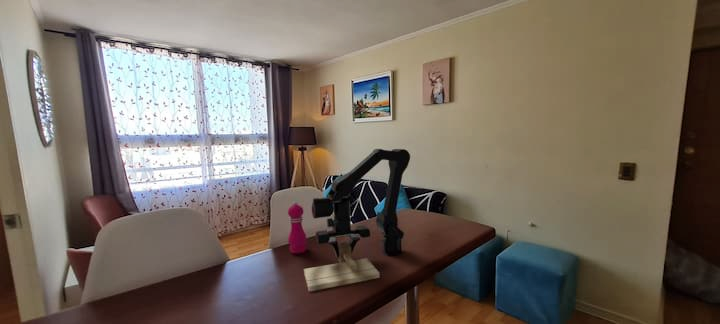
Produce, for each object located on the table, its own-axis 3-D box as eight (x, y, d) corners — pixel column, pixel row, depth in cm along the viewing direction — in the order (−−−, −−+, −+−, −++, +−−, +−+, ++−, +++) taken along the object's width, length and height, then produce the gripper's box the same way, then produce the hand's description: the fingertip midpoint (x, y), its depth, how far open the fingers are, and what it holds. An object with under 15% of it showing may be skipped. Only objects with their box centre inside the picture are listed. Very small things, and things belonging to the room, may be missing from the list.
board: (367, 262, 101) (366, 258, 101) (379, 277, 89) (379, 272, 89) (304, 273, 94) (303, 268, 94) (308, 291, 83) (308, 286, 83)
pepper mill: (302, 254, 110) (299, 203, 108) (285, 253, 111) (282, 203, 110) (309, 247, 117) (307, 199, 115) (293, 246, 118) (290, 199, 117)
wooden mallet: (347, 256, 106) (346, 241, 105) (360, 275, 91) (359, 258, 90) (336, 257, 105) (336, 243, 104) (348, 277, 89) (347, 260, 89)
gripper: (360, 206, 111) (361, 245, 113) (312, 212, 106) (314, 253, 107) (369, 213, 101) (371, 256, 102) (317, 220, 95) (319, 265, 97)
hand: (343, 257), depth 102 cm, fingers closed on wooden mallet, 4 cm apart
